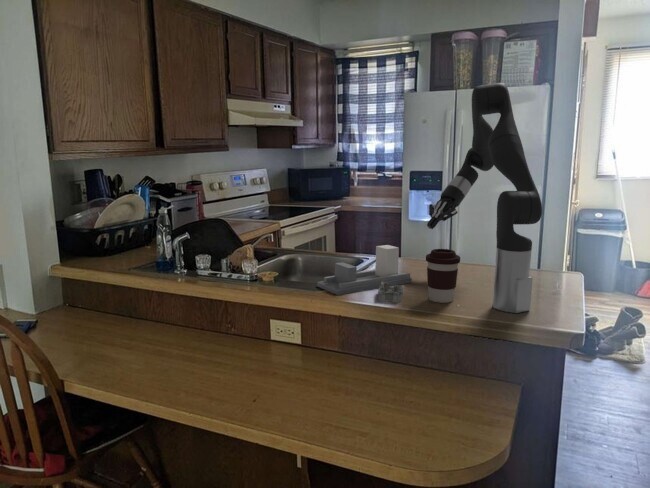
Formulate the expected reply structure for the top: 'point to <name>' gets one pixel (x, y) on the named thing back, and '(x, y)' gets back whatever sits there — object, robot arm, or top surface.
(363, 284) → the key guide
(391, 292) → the egg carton
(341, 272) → the grey rectangular block
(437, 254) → the coffee cup
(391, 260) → the block
